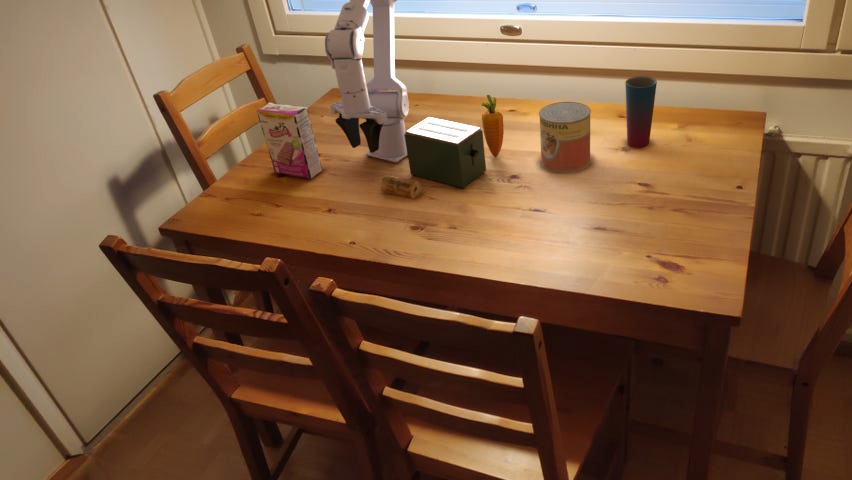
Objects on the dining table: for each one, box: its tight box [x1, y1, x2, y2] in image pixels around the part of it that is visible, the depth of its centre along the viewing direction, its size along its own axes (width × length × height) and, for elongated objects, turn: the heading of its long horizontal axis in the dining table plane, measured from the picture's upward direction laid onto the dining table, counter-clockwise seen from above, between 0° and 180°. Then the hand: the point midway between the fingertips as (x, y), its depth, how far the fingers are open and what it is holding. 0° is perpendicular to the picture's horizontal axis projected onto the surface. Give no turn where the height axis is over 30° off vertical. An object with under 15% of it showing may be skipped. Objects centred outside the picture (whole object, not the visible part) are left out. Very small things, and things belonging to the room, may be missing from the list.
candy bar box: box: [256, 102, 323, 180], centre depth 160 cm, size 11×5×16 cm, turn 65°
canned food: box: [538, 101, 592, 174], centre depth 154 cm, size 11×11×12 cm
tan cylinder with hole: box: [379, 174, 421, 200], centre depth 150 cm, size 8×4×4 cm, turn 62°
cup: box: [624, 75, 658, 149], centre depth 157 cm, size 7×7×15 cm
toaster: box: [404, 116, 487, 190], centre depth 154 cm, size 16×9×11 cm, turn 55°
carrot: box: [481, 93, 505, 158], centre depth 158 cm, size 5×5×15 cm
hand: (365, 148), depth 150 cm, fingers open, 5 cm apart
